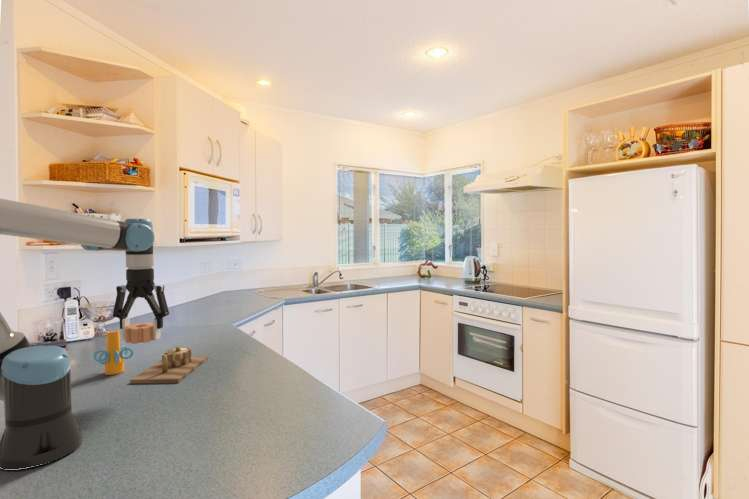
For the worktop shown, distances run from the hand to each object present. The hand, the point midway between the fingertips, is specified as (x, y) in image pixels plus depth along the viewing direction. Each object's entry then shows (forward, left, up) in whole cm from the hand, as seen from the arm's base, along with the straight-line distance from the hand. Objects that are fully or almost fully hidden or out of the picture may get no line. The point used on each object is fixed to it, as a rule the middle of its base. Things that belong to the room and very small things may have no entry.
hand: (141, 338), depth 125 cm
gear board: (+18, 0, -17) cm, 25 cm away
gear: (0, 0, 0) cm, 0 cm away
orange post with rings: (+17, +20, -17) cm, 31 cm away
